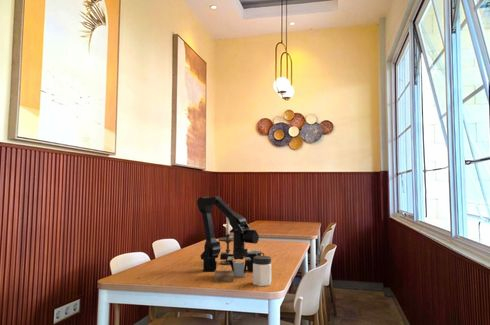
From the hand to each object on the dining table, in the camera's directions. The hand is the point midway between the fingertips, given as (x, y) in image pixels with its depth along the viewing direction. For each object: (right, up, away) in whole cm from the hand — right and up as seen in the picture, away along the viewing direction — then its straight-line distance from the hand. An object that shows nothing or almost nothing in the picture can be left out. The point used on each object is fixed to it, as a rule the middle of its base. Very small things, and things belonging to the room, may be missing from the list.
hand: (238, 273), depth 179 cm
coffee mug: (+9, -2, +11) cm, 14 cm away
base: (-7, 0, -8) cm, 11 cm away
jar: (+11, 0, -16) cm, 19 cm away
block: (0, -1, 0) cm, 1 cm away
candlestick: (-7, -3, +29) cm, 30 cm away
